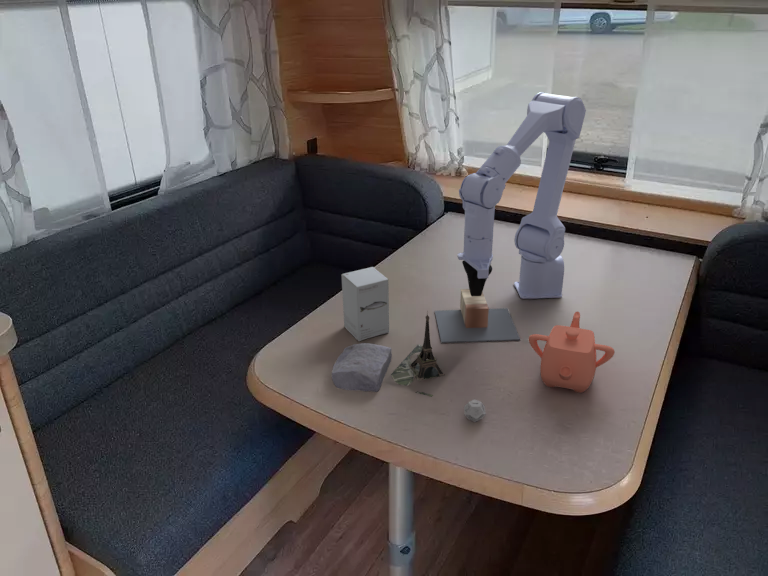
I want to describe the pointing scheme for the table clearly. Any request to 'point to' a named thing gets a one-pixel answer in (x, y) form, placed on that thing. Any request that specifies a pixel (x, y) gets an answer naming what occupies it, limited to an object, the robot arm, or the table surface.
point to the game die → (474, 410)
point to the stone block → (361, 367)
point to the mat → (456, 330)
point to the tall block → (474, 310)
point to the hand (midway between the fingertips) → (475, 294)
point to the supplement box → (365, 303)
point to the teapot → (569, 356)
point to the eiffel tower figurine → (423, 368)
